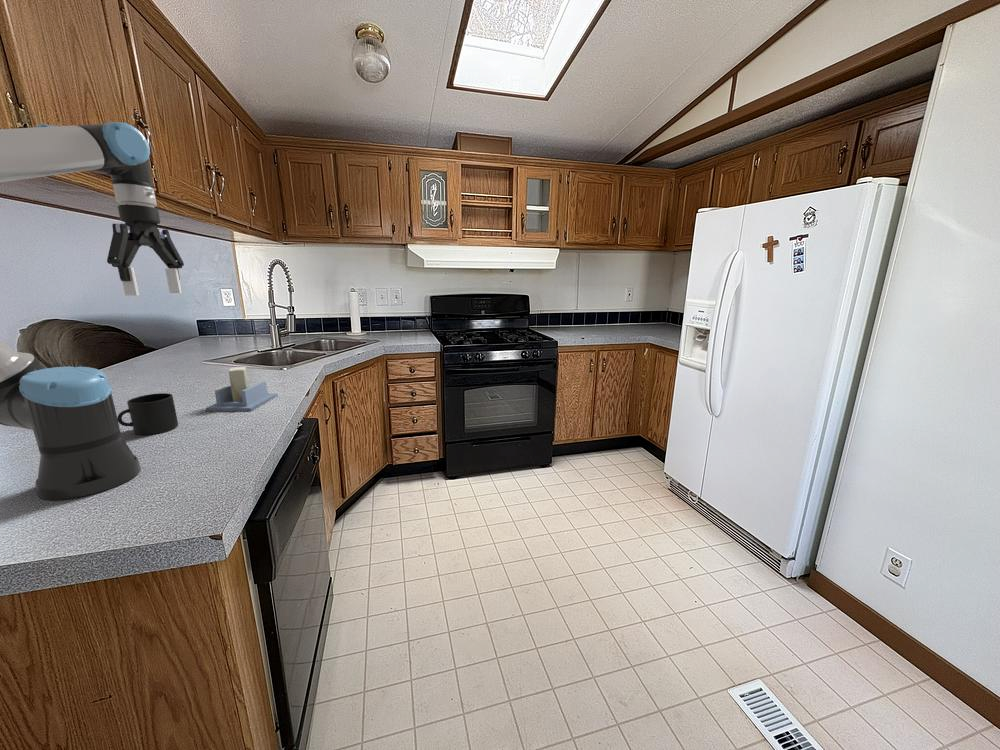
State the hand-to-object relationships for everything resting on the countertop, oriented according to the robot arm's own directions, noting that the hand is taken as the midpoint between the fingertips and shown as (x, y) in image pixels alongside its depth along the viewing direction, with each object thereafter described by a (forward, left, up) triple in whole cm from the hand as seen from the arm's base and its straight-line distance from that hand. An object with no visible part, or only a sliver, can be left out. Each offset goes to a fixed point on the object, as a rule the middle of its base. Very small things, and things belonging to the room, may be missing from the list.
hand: (155, 294), depth 103 cm
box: (+21, -4, -36) cm, 42 cm away
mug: (-2, +7, -37) cm, 38 cm away
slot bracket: (+22, -4, -37) cm, 43 cm away
